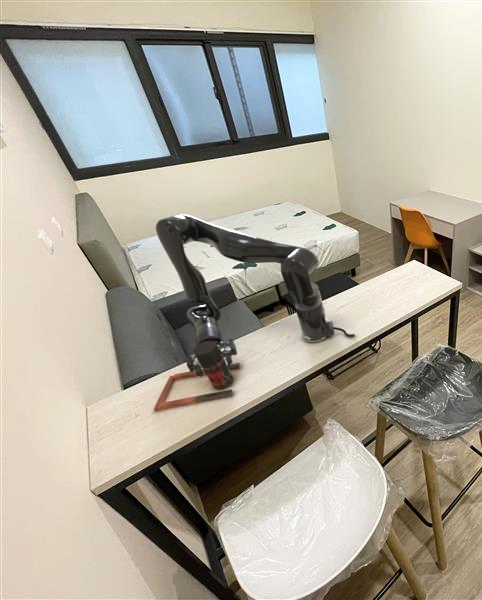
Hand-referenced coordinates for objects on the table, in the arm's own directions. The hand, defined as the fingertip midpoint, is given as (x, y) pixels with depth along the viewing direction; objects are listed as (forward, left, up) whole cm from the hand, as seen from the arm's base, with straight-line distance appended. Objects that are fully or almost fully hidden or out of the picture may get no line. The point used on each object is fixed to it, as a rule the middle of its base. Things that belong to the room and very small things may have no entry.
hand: (214, 369), depth 96 cm
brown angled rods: (+7, -2, -8) cm, 11 cm away
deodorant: (+1, -2, -8) cm, 8 cm away
